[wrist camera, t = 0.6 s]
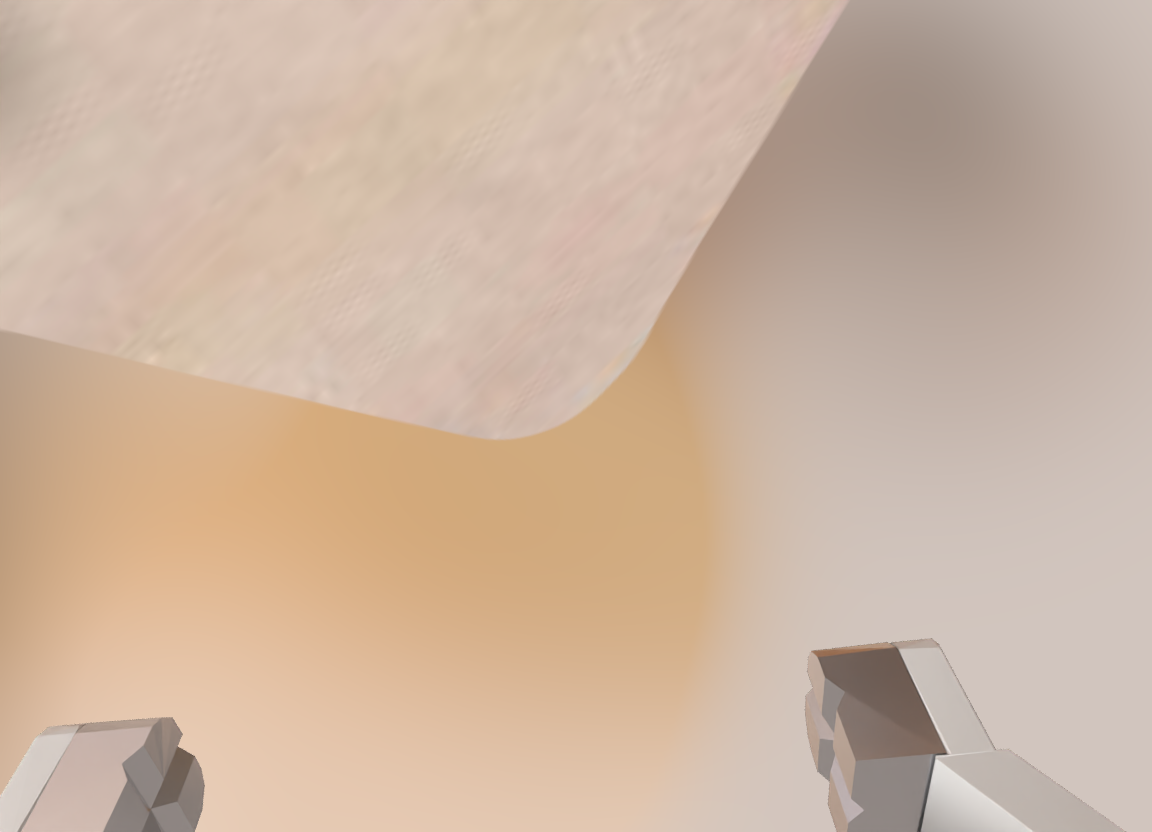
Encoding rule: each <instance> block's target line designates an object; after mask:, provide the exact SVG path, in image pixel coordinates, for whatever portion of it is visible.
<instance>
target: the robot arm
mask: <svg viewBox="0 0 1152 832" xmlns="http://www.w3.org/2000/svg"><path fill="white" fill-rule="evenodd" d="M807 672H808V675H809V678H810V681H811V684H812V687H813V688H812V689H811V690H810V691H809V692H808V694H807V695H806V704H805V716H806V725H807V734H808V739H809V743H810V747H811V751H812V755H813V758H814V762H815V765H816V768H817V771H818V772H819V773H820V774H821V775H823V776H824V777H825V778H826V779H827V780H829V781H830V785H829V796H828V797H829V798H828V806H829V809H830V812H831V815H832V818H833V822H834V825H835V828H836V830H837V832H1126V831H1124V830H1123V829H1121V828H1120V827H1118V826H1117V825H1115V824H1114V823H1113V822H1111V821H1110V820H1109V819H1107V818H1106V817H1104V816H1103V815H1101V814H1100V813H1099V812H1097V811H1096V810H1094V809H1093V808H1092V807H1090V806H1089V805H1087V804H1086V803H1084V802H1083V801H1082V800H1080V799H1079V798H1077V797H1076V796H1075V795H1073V794H1072V793H1070V792H1069V791H1068V790H1066V789H1065V788H1063V787H1062V786H1060V785H1059V784H1057V783H1056V782H1055V781H1053V780H1052V779H1051V778H1049V777H1048V776H1046V775H1045V774H1043V773H1042V772H1040V771H1039V770H1038V769H1036V768H1035V767H1034V766H1032V765H1031V764H1029V763H1028V762H1026V761H1025V760H1024V759H1022V758H1021V757H1019V756H1018V755H1017V754H1015V753H1014V752H1012V751H1011V750H1009V749H1000V750H996V749H995V747H994V745H993V743H992V741H991V740H990V738H989V736H988V734H987V732H986V730H985V729H984V727H983V725H982V723H981V721H980V719H979V717H978V716H977V714H976V712H975V710H974V708H973V706H972V705H971V703H970V701H969V699H968V697H967V695H966V693H965V692H964V690H963V688H962V686H961V684H960V682H959V680H958V679H957V677H956V675H955V673H954V671H953V670H952V667H951V666H950V664H949V662H948V660H947V658H946V656H945V655H944V653H943V651H942V649H941V647H940V646H939V644H938V643H937V642H936V641H934V640H933V639H932V638H930V639H920V640H910V641H900V642H892V643H888V642H885V643H876V644H867V645H858V646H850V647H841V648H832V649H823V650H814V651H811V653H810V655H809V657H808V668H807ZM181 737H182V732H181V731H180V729H179V727H178V726H177V724H176V723H175V721H174V719H173V718H150V719H136V720H123V721H109V722H96V723H87V724H75V725H62V726H51V727H48V728H47V729H45V730H44V731H43V732H42V733H40V734H39V735H38V736H37V737H36V738H35V739H34V741H33V743H32V744H31V746H30V748H29V749H28V751H27V753H26V754H25V756H24V758H23V759H22V761H21V763H20V764H19V766H18V768H17V769H16V771H15V773H14V774H13V776H12V778H11V779H10V781H9V783H8V784H7V786H6V788H5V789H4V791H3V792H2V794H1V796H0V832H195V829H196V826H197V824H198V821H199V818H200V815H201V812H202V807H203V795H204V786H205V785H204V780H203V775H202V770H201V767H200V765H199V763H198V761H197V759H196V758H195V756H193V755H192V754H190V753H188V752H186V751H185V750H183V749H181V748H179V747H178V744H179V741H180V739H181Z"/></svg>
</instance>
